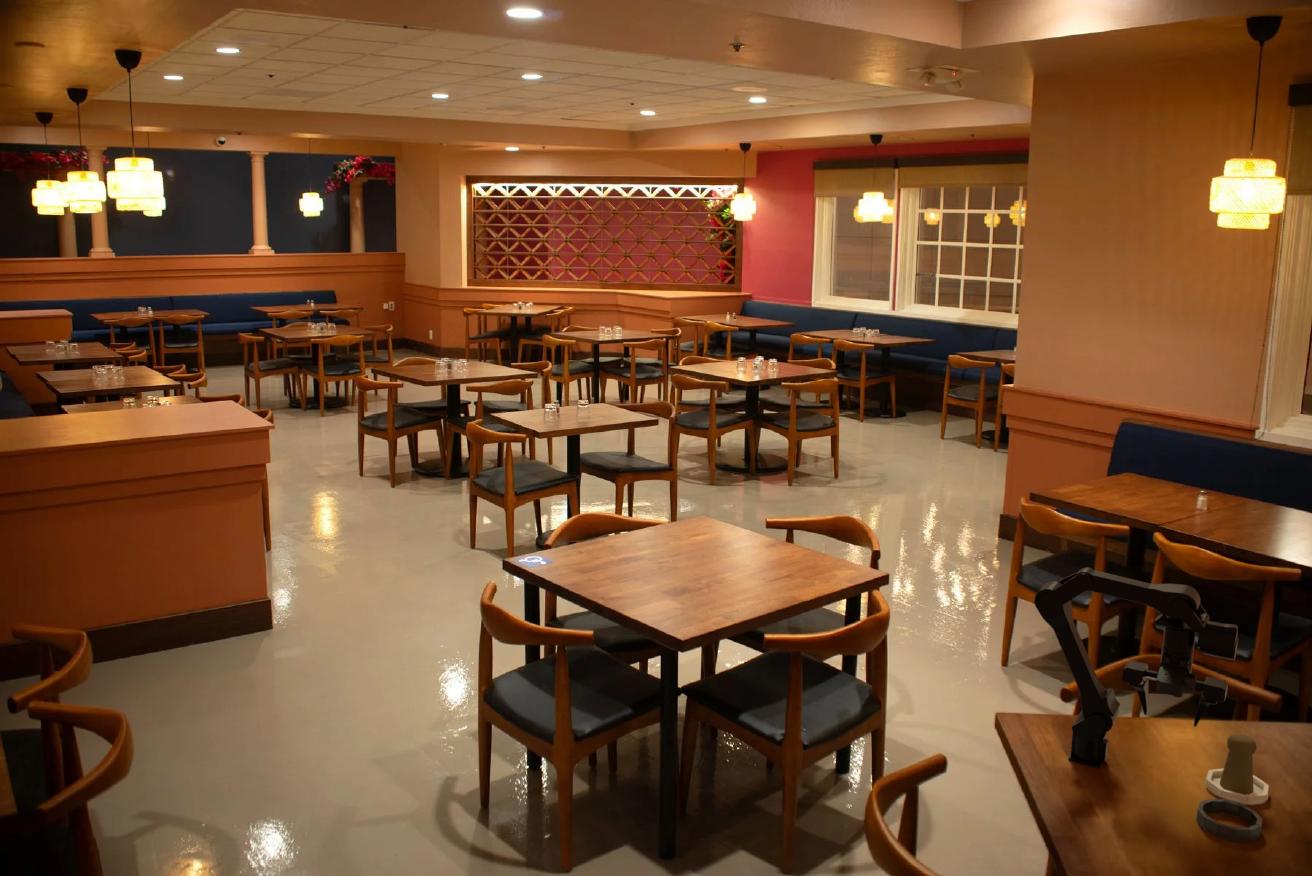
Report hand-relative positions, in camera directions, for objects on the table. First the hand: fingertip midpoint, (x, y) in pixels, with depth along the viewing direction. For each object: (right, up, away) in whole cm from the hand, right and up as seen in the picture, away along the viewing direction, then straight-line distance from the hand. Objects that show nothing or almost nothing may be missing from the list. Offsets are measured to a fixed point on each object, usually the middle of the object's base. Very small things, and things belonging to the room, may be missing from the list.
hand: (1170, 719), depth 214 cm
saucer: (+12, -14, -2) cm, 19 cm away
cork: (+12, -13, -2) cm, 18 cm away
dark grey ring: (+4, -16, -15) cm, 22 cm away
